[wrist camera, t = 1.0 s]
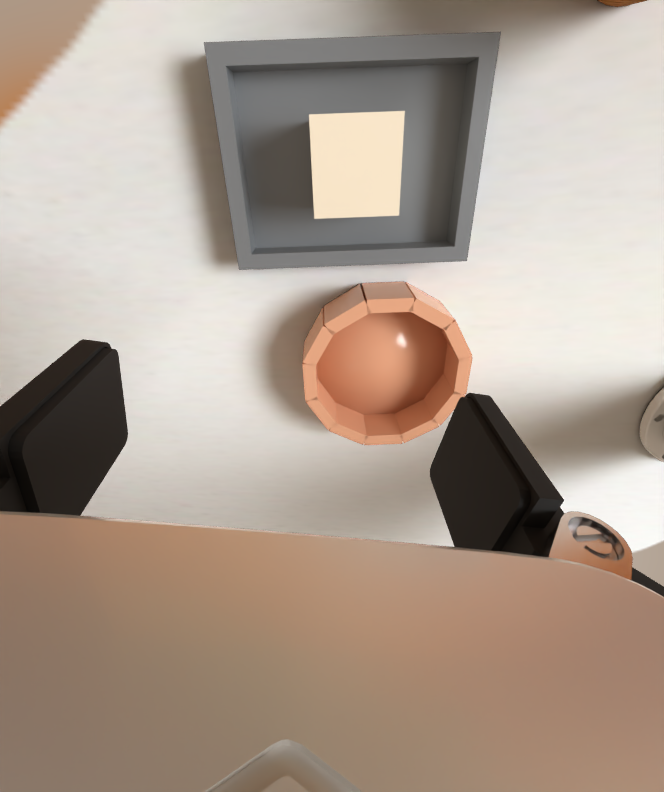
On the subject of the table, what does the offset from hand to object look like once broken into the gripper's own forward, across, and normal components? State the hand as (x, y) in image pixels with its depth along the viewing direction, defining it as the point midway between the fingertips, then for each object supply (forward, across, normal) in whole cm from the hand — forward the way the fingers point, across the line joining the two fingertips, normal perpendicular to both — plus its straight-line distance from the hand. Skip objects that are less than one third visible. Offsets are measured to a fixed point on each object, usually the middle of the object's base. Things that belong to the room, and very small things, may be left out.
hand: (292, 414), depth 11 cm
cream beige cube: (+21, -2, -6) cm, 22 cm away
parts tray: (+22, -2, -6) cm, 22 cm away
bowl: (+21, -8, +8) cm, 24 cm away
